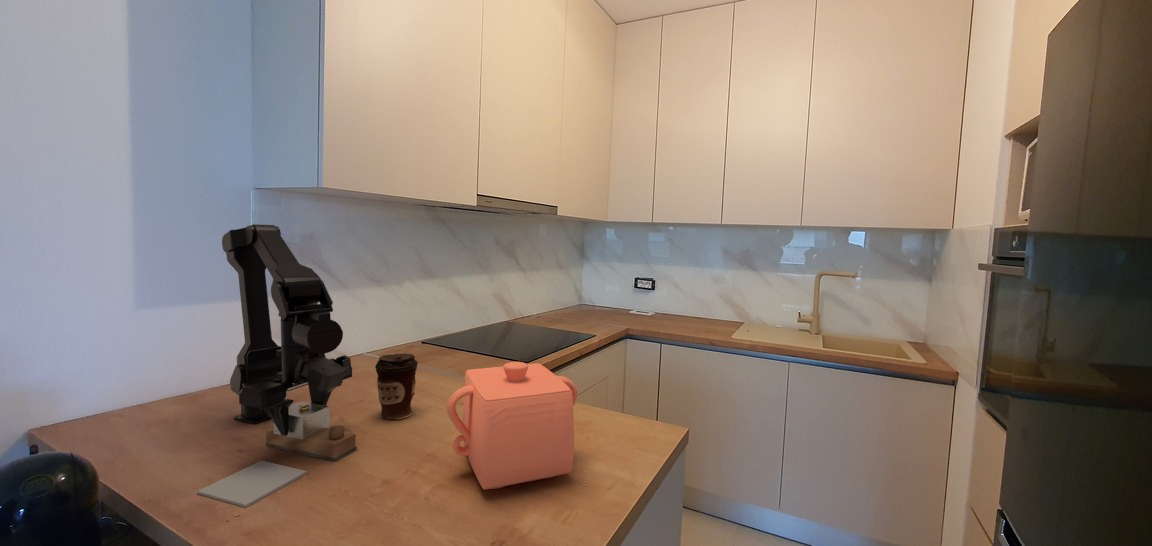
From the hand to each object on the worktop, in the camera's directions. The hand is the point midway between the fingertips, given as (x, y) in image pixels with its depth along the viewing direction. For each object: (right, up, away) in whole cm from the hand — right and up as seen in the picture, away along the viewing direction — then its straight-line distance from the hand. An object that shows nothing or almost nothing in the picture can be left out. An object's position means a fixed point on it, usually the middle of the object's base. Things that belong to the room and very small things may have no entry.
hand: (302, 427), depth 84 cm
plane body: (+2, -4, 0) cm, 4 cm away
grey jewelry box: (0, -1, 0) cm, 0 cm away
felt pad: (0, -5, -12) cm, 13 cm away
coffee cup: (+11, -3, +15) cm, 19 cm away
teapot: (+38, -5, -2) cm, 39 cm away
